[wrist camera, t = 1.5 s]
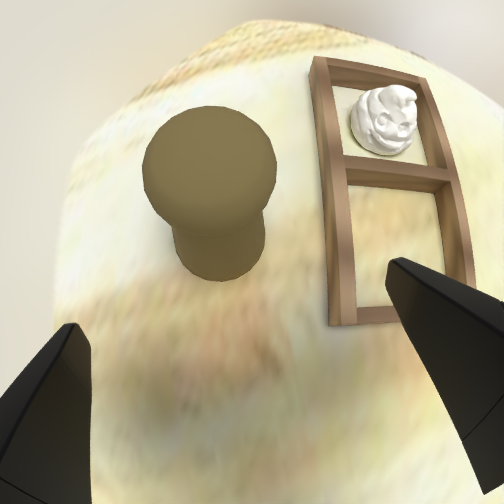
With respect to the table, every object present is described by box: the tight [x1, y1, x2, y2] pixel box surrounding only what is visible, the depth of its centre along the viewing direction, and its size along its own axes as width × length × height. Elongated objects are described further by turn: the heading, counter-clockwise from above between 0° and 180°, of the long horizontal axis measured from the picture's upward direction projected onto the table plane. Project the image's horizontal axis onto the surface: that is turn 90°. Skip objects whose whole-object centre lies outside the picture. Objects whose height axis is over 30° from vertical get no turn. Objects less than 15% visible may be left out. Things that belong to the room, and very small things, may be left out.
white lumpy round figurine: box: [351, 85, 417, 155], centre depth 21 cm, size 6×6×5 cm
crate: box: [309, 56, 476, 326], centre depth 21 cm, size 21×11×2 cm, turn 0°
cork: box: [142, 106, 277, 282], centre depth 16 cm, size 6×6×11 cm
